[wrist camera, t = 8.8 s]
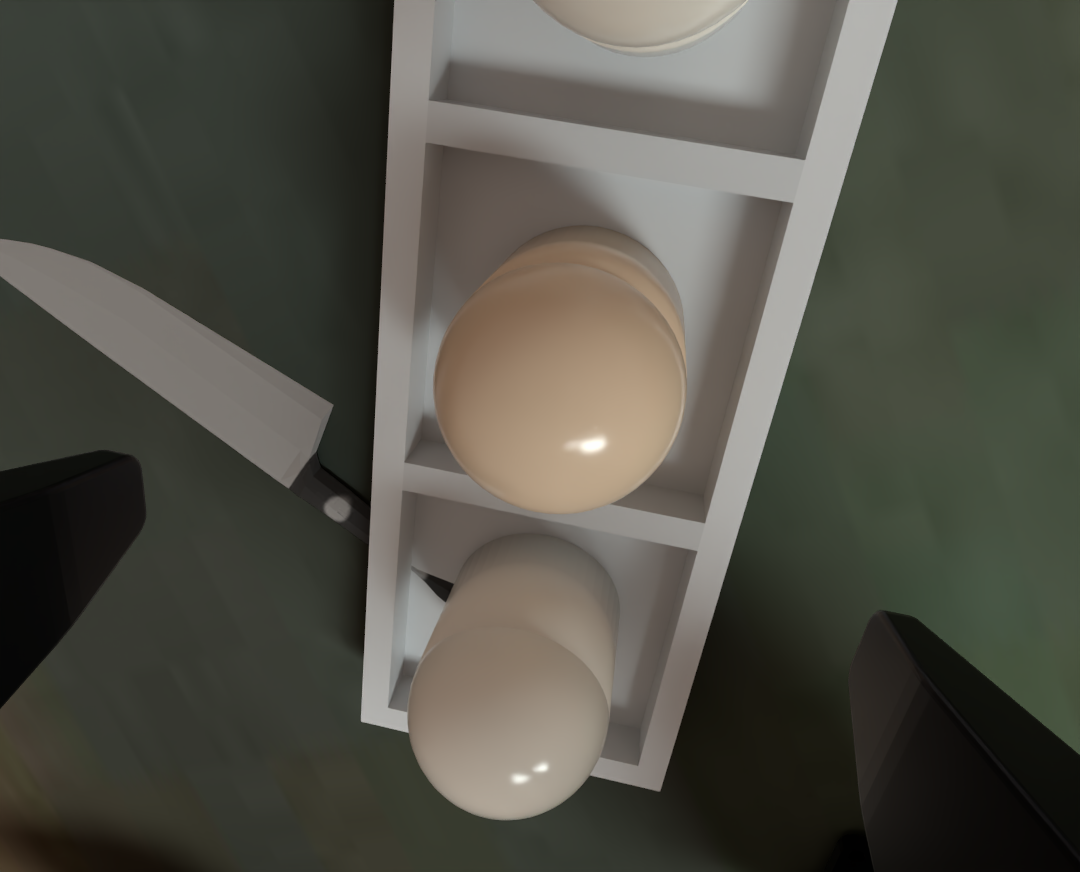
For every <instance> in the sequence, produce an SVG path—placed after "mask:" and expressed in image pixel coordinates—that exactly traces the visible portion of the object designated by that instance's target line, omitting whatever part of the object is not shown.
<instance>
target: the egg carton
mask: <svg viewBox="0 0 1080 872" xmlns="http://www.w3.org/2000/svg"><path fill="white" fill-rule="evenodd" d="M897 1H898V0H749V1H748V2H747V3H746V4H745V6H744V7H743V8H742V9H741V10H740V11H739V12H738V13H737V15H736V16H735V17H734V18H733V19H732V20H731V21H729V22H728V23H727V24H726V25H725V26H724V27H723V28H722V29H721V30H719V31H718V32H716V33H715V34H713V35H712V36H710V37H709V38H708V39H706V40H704V41H702V42H700V43H699V44H697V45H695V46H693V47H691V48H688V49H685V50H682V51H680V52H677V53H673V54H668V55H664V56H656V57H635V56H627V55H622V54H618V53H614V52H611V51H609V50H606V49H604V48H601V47H599V46H597V45H596V44H594V43H592V42H590V41H589V40H587V39H585V38H583V37H581V36H580V35H578V34H576V33H574V32H573V31H571V30H569V29H567V28H566V27H564V26H562V25H560V24H559V23H558V22H556V21H555V20H554V19H553V18H551V17H550V16H549V15H547V14H546V13H545V12H544V11H543V10H542V9H541V8H540V7H539V6H538V5H537V4H536V3H535V2H534V1H533V0H394V20H393V42H392V63H391V85H390V106H389V128H388V149H387V171H386V192H385V214H384V236H383V257H382V279H381V300H380V322H379V343H378V365H377V386H376V408H375V429H374V451H373V473H372V494H371V516H370V537H369V559H368V580H367V602H366V623H365V645H364V666H363V688H362V710H361V722H366V723H370V724H374V725H378V726H383V727H387V728H391V729H395V730H400V731H404V732H408V733H409V731H408V724H407V704H408V698H409V692H410V686H411V683H412V680H413V677H414V674H415V672H416V669H417V666H418V664H419V662H420V659H421V657H422V655H423V653H424V651H425V648H426V646H427V644H428V642H429V639H430V637H431V635H432V633H433V630H434V628H435V626H436V624H437V621H438V619H439V617H440V615H441V612H442V610H443V608H444V606H445V602H444V601H443V600H442V599H441V598H439V597H438V596H437V595H436V594H435V593H434V592H433V590H432V589H431V588H430V587H429V586H428V585H427V584H426V583H425V582H424V581H423V580H422V579H421V578H420V577H419V576H418V575H417V574H415V573H414V572H413V571H412V570H411V565H412V566H413V567H415V568H417V569H418V570H421V571H423V572H426V573H428V574H431V575H433V576H436V577H438V578H441V579H443V580H446V581H448V582H451V583H453V584H454V583H455V581H456V579H457V576H458V574H459V572H460V570H461V568H462V566H463V565H464V563H465V562H466V560H467V559H468V558H469V557H470V556H471V555H472V554H473V553H474V552H475V551H476V550H477V549H479V548H480V547H482V546H483V545H484V544H486V543H488V542H490V541H492V540H495V539H498V538H500V537H503V536H508V535H513V534H523V533H530V534H542V535H548V536H552V537H556V538H559V539H562V540H565V541H567V542H570V543H572V544H574V545H576V546H577V547H579V548H581V549H583V550H584V551H585V552H587V553H588V554H590V555H591V556H592V557H593V558H594V559H596V560H597V561H598V562H599V563H600V564H601V566H602V567H603V568H604V569H605V570H606V572H607V573H608V574H609V576H610V577H611V579H612V581H613V583H614V585H615V587H616V590H617V593H618V596H619V602H620V621H619V631H618V640H617V650H616V659H615V669H614V679H613V688H612V698H611V707H610V717H609V725H608V731H607V736H606V741H605V744H604V747H603V750H602V752H601V755H600V758H599V760H598V762H597V764H596V765H595V767H594V769H593V770H592V772H591V774H590V775H591V776H595V777H600V778H604V779H608V780H612V781H617V782H621V783H625V784H629V785H634V786H638V787H642V788H646V789H651V790H655V791H659V792H660V790H661V787H662V784H663V780H664V777H665V774H666V770H667V767H668V764H669V760H670V757H671V754H672V750H673V747H674V744H675V740H676V737H677V734H678V730H679V727H680V724H681V720H682V717H683V714H684V710H685V707H686V704H687V700H688V697H689V694H690V690H691V687H692V684H693V680H694V677H695V674H696V670H697V667H698V664H699V660H700V657H701V654H702V650H703V647H704V644H705V640H706V637H707V634H708V630H709V627H710V624H711V620H712V617H713V614H714V610H715V607H716V604H717V600H718V597H719V594H720V590H721V587H722V584H723V580H724V577H725V574H726V570H727V567H728V564H729V560H730V557H731V554H732V550H733V547H734V544H735V540H736V537H737V534H738V530H739V527H740V524H741V520H742V517H743V514H744V510H745V507H746V504H747V500H748V497H749V494H750V490H751V487H752V484H753V480H754V477H755V474H756V470H757V467H758V464H759V460H760V457H761V454H762V450H763V447H764V444H765V440H766V437H767V434H768V430H769V427H770V424H771V420H772V417H773V414H774V410H775V407H776V404H777V400H778V397H779V394H780V390H781V387H782V384H783V380H784V377H785V374H786V371H787V367H788V364H789V361H790V357H791V354H792V351H793V347H794V344H795V341H796V337H797V334H798V331H799V327H800V324H801V321H802V317H803V314H804V311H805V307H806V304H807V301H808V297H809V294H810V291H811V287H812V284H813V281H814V277H815V274H816V271H817V267H818V264H819V261H820V257H821V254H822V251H823V247H824V244H825V241H826V237H827V234H828V231H829V227H830V224H831V221H832V217H833V214H834V211H835V207H836V204H837V201H838V197H839V194H840V191H841V187H842V184H843V181H844V177H845V174H846V171H847V167H848V164H849V161H850V157H851V154H852V151H853V147H854V144H855V141H856V137H857V134H858V131H859V127H860V124H861V121H862V117H863V114H864V111H865V107H866V104H867V101H868V97H869V94H870V91H871V87H872V84H873V81H874V77H875V74H876V71H877V67H878V64H879V61H880V57H881V54H882V51H883V47H884V44H885V41H886V37H887V34H888V31H889V27H890V24H891V21H892V17H893V14H894V11H895V7H896V4H897ZM578 225H588V226H598V227H603V228H607V229H611V230H614V231H617V232H620V233H622V234H625V235H627V236H629V237H631V238H632V239H634V240H636V241H638V242H639V243H641V244H642V245H643V246H645V247H646V248H647V249H649V250H650V251H651V252H652V253H653V254H654V255H655V256H656V257H657V258H658V259H659V260H660V261H661V263H662V264H663V265H664V266H665V268H666V269H667V270H668V272H669V274H670V275H671V277H672V279H673V281H674V282H675V285H676V287H677V290H678V292H679V294H680V298H681V302H682V306H683V313H684V322H685V345H686V368H687V398H686V405H685V410H684V416H683V420H682V424H681V427H680V430H679V433H678V435H677V437H676V439H675V441H674V443H673V445H672V447H671V449H670V451H669V453H668V454H667V456H666V457H665V459H664V460H663V462H662V463H661V465H660V466H659V467H658V468H657V469H656V471H655V472H654V473H653V474H652V475H651V476H650V477H649V478H648V479H647V480H646V481H645V482H643V483H642V484H641V485H640V486H639V487H638V488H636V489H635V490H634V491H632V492H631V493H629V494H628V495H626V496H625V497H623V498H621V499H619V500H617V501H615V502H613V503H611V504H609V505H606V506H603V507H600V508H597V509H594V510H591V511H586V512H581V513H574V514H546V513H539V512H533V511H529V510H526V509H522V508H519V507H516V506H514V505H511V504H508V503H506V502H504V501H502V500H501V499H499V498H497V497H495V496H493V495H492V494H490V493H489V492H487V491H486V490H484V489H483V488H482V487H481V486H479V485H478V484H477V483H476V482H475V481H473V480H472V479H471V478H470V477H469V475H468V474H467V473H466V472H465V471H464V470H463V469H462V468H461V466H460V465H459V464H458V462H457V461H456V460H455V458H454V457H453V455H452V453H451V451H450V449H449V448H448V446H447V444H446V442H445V440H444V438H443V435H442V433H441V431H440V428H439V425H438V421H437V417H436V413H435V406H434V397H433V375H434V368H435V362H436V358H437V354H438V351H439V347H440V344H441V341H442V339H443V337H444V334H445V332H446V330H447V328H448V326H449V325H450V323H451V321H452V320H453V318H454V317H455V315H456V314H457V312H458V311H459V309H460V308H461V307H462V306H463V305H464V303H465V302H466V301H467V300H468V299H469V298H470V297H471V295H472V294H473V293H474V292H475V291H476V290H477V289H478V288H479V287H480V286H481V285H482V284H483V283H484V282H485V281H486V280H487V279H488V278H489V277H490V276H491V275H492V274H493V273H494V272H495V271H496V270H497V269H498V268H499V266H500V265H501V264H502V263H503V262H504V261H505V260H506V259H507V258H508V257H509V256H510V255H511V254H512V253H513V252H514V251H516V250H517V249H518V248H519V247H520V246H521V245H523V244H524V243H526V242H527V241H529V240H530V239H532V238H534V237H536V236H538V235H540V234H542V233H544V232H547V231H550V230H553V229H557V228H561V227H567V226H578Z"/></svg>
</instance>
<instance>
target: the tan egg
mask: <svg viewBox="0 0 1080 872" xmlns="http://www.w3.org/2000/svg"><path fill="white" fill-rule="evenodd" d="M433 397H434V406H435V413H436V417H437V421H438V425H439V428H440V431H441V433H442V435H443V438H444V440H445V442H446V444H447V446H448V448H449V449H450V451H451V453H452V455H453V457H454V458H455V460H456V461H457V462H458V464H459V465H460V466H461V468H462V469H463V470H464V471H465V472H466V473H467V474H468V475H469V477H470V478H471V479H472V480H473V481H475V482H476V483H477V484H478V485H479V486H481V487H482V488H483V489H484V490H486V491H487V492H489V493H490V494H492V495H493V496H495V497H497V498H499V499H501V500H502V501H504V502H506V503H508V504H511V505H514V506H516V507H519V508H522V509H526V510H529V511H533V512H539V513H546V514H574V513H581V512H586V511H591V510H594V509H597V508H600V507H603V506H606V505H609V504H611V503H613V502H615V501H617V500H619V499H621V498H623V497H625V496H626V495H628V494H629V493H631V492H632V491H634V490H635V489H636V488H638V487H639V486H640V485H641V484H642V483H643V482H645V481H646V480H647V479H648V478H649V477H650V476H651V475H652V474H653V473H654V472H655V471H656V469H657V468H658V467H659V466H660V465H661V463H662V462H663V460H664V459H665V457H666V456H667V454H668V453H669V451H670V449H671V447H672V445H673V443H674V441H675V439H676V437H677V435H678V433H679V430H680V427H681V424H682V420H683V416H684V410H685V405H686V398H687V368H686V345H685V322H684V313H683V306H682V302H681V298H680V294H679V292H678V290H677V287H676V285H675V282H674V281H673V279H672V277H671V275H670V274H669V272H668V270H667V269H666V268H665V266H664V265H663V264H662V263H661V261H660V260H659V259H658V258H657V257H656V256H655V255H654V254H653V253H652V252H651V251H650V250H649V249H647V248H646V247H645V246H643V245H642V244H641V243H639V242H638V241H636V240H634V239H632V238H631V237H629V236H627V235H625V234H622V233H620V232H617V231H614V230H611V229H607V228H603V227H598V226H588V225H578V226H567V227H561V228H557V229H553V230H550V231H547V232H544V233H542V234H540V235H538V236H536V237H534V238H532V239H530V240H529V241H527V242H526V243H524V244H523V245H521V246H520V247H519V248H518V249H517V250H516V251H514V252H513V253H512V254H511V255H510V256H509V257H508V258H507V259H506V260H505V261H504V262H503V263H502V264H501V265H500V266H499V268H498V269H497V270H496V271H495V272H494V273H493V274H492V275H491V276H490V277H489V278H488V279H487V280H486V281H485V282H484V283H483V284H482V285H481V286H480V287H479V288H478V289H477V290H476V291H475V292H474V293H473V294H472V295H471V297H470V298H469V299H468V300H467V301H466V302H465V303H464V305H463V306H462V307H461V308H460V309H459V311H458V312H457V314H456V315H455V317H454V318H453V320H452V321H451V323H450V325H449V326H448V328H447V330H446V332H445V334H444V337H443V339H442V341H441V344H440V347H439V351H438V354H437V358H436V362H435V368H434V375H433Z"/></svg>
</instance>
